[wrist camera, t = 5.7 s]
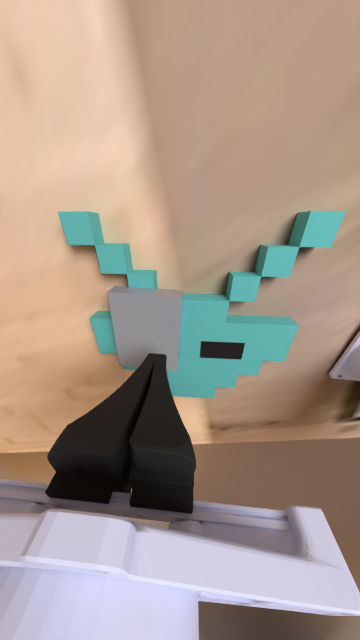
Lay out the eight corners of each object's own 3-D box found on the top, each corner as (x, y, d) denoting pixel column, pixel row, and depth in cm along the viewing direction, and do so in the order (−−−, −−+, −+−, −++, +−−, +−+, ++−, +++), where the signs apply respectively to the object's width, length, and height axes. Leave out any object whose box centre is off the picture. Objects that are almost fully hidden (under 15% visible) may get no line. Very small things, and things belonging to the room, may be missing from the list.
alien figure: (76, 213, 14) (118, 379, 24) (57, 211, 12) (111, 392, 22) (322, 213, 13) (261, 386, 23) (345, 211, 11) (267, 401, 21)
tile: (182, 297, 13) (107, 291, 13) (177, 370, 17) (119, 365, 17) (183, 290, 14) (115, 285, 15) (178, 359, 18) (125, 355, 19)
